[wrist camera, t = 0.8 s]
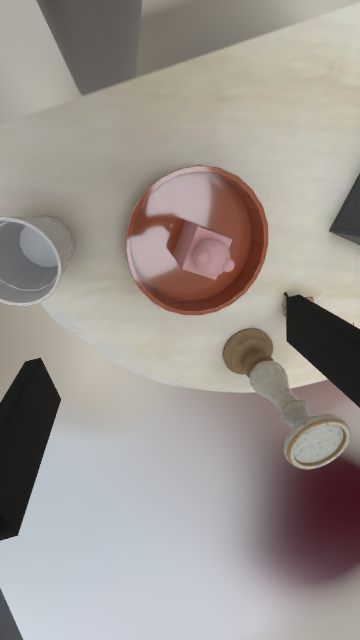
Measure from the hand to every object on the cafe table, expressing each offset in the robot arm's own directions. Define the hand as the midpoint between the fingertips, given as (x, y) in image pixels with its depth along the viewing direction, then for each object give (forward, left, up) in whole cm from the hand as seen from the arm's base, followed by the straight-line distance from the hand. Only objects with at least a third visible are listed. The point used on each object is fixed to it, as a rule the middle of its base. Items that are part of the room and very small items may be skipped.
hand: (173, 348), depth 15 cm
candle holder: (+11, +22, -26) cm, 36 cm away
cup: (+3, -12, -26) cm, 29 cm away
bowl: (-3, +6, -26) cm, 27 cm away
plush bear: (-3, +6, -25) cm, 26 cm away
